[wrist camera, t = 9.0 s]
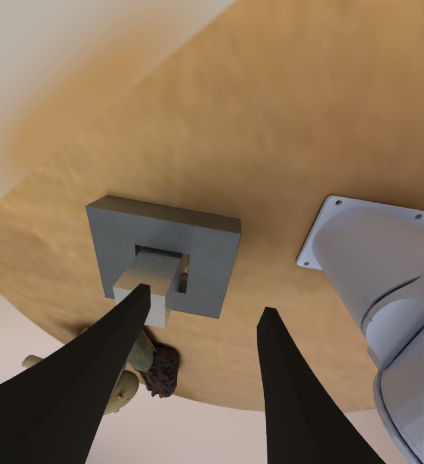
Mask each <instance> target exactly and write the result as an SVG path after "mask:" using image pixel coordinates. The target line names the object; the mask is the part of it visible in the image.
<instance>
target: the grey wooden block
mask: <svg viewBox="0 0 424 464" xmlns="http://www.w3.org/2000/svg"><path fill="white" fill-rule="evenodd" d="M186 266H187V254H183V253H178V252H172V251H167V250H161V249H156V248H151V247H145V246H144V247H143V248H142V250H141V251H140V252H139V254H138V255H137V256H136V257H135V259H134V260H133V261H132V263H131V264H130V265H129V266H128V268H127V269H126V270H125V272H124V273H123V274H122V276H121V277H120V278H119V279H118V281H117V282H116V283H115V285H114V286H113V291H114V296H115V301H116V305H117V304H119V303H120V302H121V301H122V300H123V299H124V298H125V297H126V296H127V295H128V294H129V293H130V292H132V291H133V290H134V289H135V288H136V287H137V286H138V285H139V284H140V283H142V284H148V285H150V291H151V308H150V311H149V314H148V316H147V319H146V321H145V324H144V325H149V326H154V327H159V328H165V327H166V324H167V321H168V318H169V315H170V312H171V310H172V307H173V304H174V301H175V298H176V295H177V292H178V290H179V287H180V284H181V281H182V278H183V275H184V272H185V270H186Z"/></svg>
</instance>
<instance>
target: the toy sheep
mask: <svg viewBox="0 0 424 464" xmlns="http://www.w3.org/2000/svg"><path fill="white" fill-rule="evenodd" d="M88 328H90V327H86V328H84V330H83V331H82V333H83V332H84V331H86V330H87V329H88ZM82 333H81V334H82ZM41 360H43V359H42V358H40V357H37V356H34V355H29V356H28V357H27V358H25V360H24V361H23V363H22V365H23V367H26V368H30V367H31V366H33V365H35V364H36V363H38V362H40V361H41ZM126 363H127V361H125V363H124V365H123V367H122V370H121V372H120V374H119V377H118V379H117V381H116V384H115V386H114V389H113V391H112V394H111V396H110V399H109V401H108V404H107V406H106V409H105V411H104V414H103V415H106V414H109V413H111V412H114V413H116V412H118V411H119V409H120V408H121V407H123V406H124V405H126V404H127V403H128V402H129V401H130V400H131V399H132V398H133V397H134V395H135V394H136V392H137V390H138V387H139V380H138V377H137V376H136V375H135V374H134V373H133V372H131V371H127V370H124V369H125V366H126Z"/></svg>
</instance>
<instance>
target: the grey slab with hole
mask: <svg viewBox="0 0 424 464" xmlns="http://www.w3.org/2000/svg"><path fill="white" fill-rule="evenodd" d="M86 211H87V215H88V220H89V224H90V229H91V234H92V238H93V243H94V247H95V252H96V257H97V261H98V266H99V270H100V275H101V279H102V284H103V289H104V293H105V297H106V298H111V299H115V296H114V291H113V286H114V285H115V283H116V282H117V281H118V279H119V278H120V277H121V276H122V274H123V273H124V272H125V270H126V269H127V268H128V266H129V265H130V264H131V263H132V261H133V260H134V259H135V257H136V256H137V255H138V254H139V252H140V251H141V250H142V248H143V247H144V246H145V247H151V248H156V249H161V250H167V251H172V252H178V253H183V254H189V255H190V261H189V270H188V274H184V275H183V278H182V281H181V284H180V287H179V290H178V292H177V295H176V298H175V301H174V304H173V307H172V310H174V311H180V312H185V313H190V314H195V315H201V316H206V317H211V318H216V319H219V316H220V312H221V309H222V305H223V301H224V297H225V293H226V290H227V286H228V282H229V278H230V274H231V270H232V267H233V263H234V259H235V255H236V251H237V248H238V244H239V240H240V236H241V225H240V219H236V218H230V217H224V216H219V215H213V214H208V213H202V212H196V211H191V210H185V209H179V208H174V207H168V206H163V205H157V204H151V203H146V202H140V201H135V200H129V199H123V198H118V197H112V196H107V195H106V196H104V197H102V198H100V199H98V200H96V201H94V202H92V203H90V204H88V205H86Z"/></svg>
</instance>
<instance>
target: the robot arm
mask: <svg viewBox="0 0 424 464" xmlns="http://www.w3.org/2000/svg"><path fill="white" fill-rule="evenodd" d="M338 200H340V202H339V203H338V204H335V203H336V201H338ZM416 215H418V216H417V217H415V216H416ZM305 262H307V263H305ZM296 263H297V265H298V266H301V267H307V268H312V269H318V270H323V272H324V273H325V275H326V276H327V278H328V280H329V281H330V283H331V284H332V286H333V288H334V289H335V291H336V292H337V294H338V295H339V297H340V299H341V300H342V302H343V303H344V305H345V307H346V308H347V310H348V311H349V313H350V315H351V316H352V318H353V319H354V321H355V323H356V324H357V326H358V327H359V329H360V330H361V332H362V334H363V335H364V337H365V338H366V340H367V342H368V343H369V349H368V350H367V352H368V353H369V355H370V357H371V358H372V360H373V362H374V363H375V365H376V367H377V368H378V370H379V371H378V373H377V374H376V376H375V378H374V382H373V395H374V401H375V404H376V408H377V411H378V413H379V416H380V418H381V420H382V422H383V425H384V426H385V428H386V430H387V432H388V433H389V435H390V437H391V439H392V440H393V442H394V443H395V445H396V446H397V448H398V449H399V451H400V452H401V453H402V455H403V456H404V457H405V459H406V460H407V461H408V462H409V464H424V211H422V210H416V209H411V208H405V207H399V206H393V205H387V204H382V203H376V202H370V201H364V200H359V199H353V198H347V197H341V196H336V195H331V196H329V197H327V198H326V200H325V202H324V204H323V206H322V208H321V210H320V212H319V214H318V216H317V219H316V221H315V223H314V225H313V227H312V229H311V231H310V233H309V235H308V237H307V239H306V241H305V243H304V246H303V248H302V250H301V252H300V254H299V256H298V258H297V260H296ZM150 308H151V291H150V285H148V284H142V283H140V284H139V285H138V286H137V287H136V288H135V289H134V290H133V291H132V292H130V293H129V294H128V295H127V296H126V297H125V298H124V299H123V300H122V301H121V302H120V303H119V304H117V305H116V306H115V307H114V308H113V309H112V310H111V311H109V312H108V313H107V314H106V315H105V316H103V317H102V318H101V319H100V320H98V321H97V322H96V323H95V324H94V325H92V326H91V327H90V328H88V329H87V330H86V331H84V332H83V333H82V334H80V335H79V336H77V337H76V338H75V339H73V340H72V341H70V342H69V343H67V344H66V345H64V346H63V347H62V348H60V349H59V350H57V351H56V352H54V353H53V354H51V355H49V356H48V357H46V358H45V359H43V360H41V361H40V362H38V363H36V364H35V365H33V366H31V367H30V368H28V369H26V370H25V371H23V372H21V373H20V374H18V375H16V376H15V377H13V378H11V379H9V380H7V381H5V382H4V383H2V384H0V464H85V462H86V459H87V456H88V453H89V450H90V448H91V445H92V442H93V440H94V437H95V435H96V432H97V429H98V427H99V424H100V422H101V419H102V416H103V414H104V411H105V409H106V406H107V404H108V401H109V399H110V396H111V394H112V391H113V389H114V386H115V384H116V381H117V379H118V377H119V374H120V372H121V370H122V367H123V365H124V363H125V361H126V359H127V357H128V355H129V353H130V351H131V349H132V347H133V345H134V343H135V342H136V340H137V338H138V336H139V334H140V332H141V330H142V328H143V326H144V324H145V321H146V319H147V316H148V314H149V311H150ZM257 346H258V354H259V361H260V368H261V375H262V382H263V389H264V399H265V415H266V434H267V461H268V464H386V463H385V462H384V461H383V460H382V459H381V458H380V457H379V456H378V454H377V453H376V452H375V451H374V450H373V449H372V448H371V446H370V445H369V444H368V443H367V442H366V441H365V439H364V438H363V437H362V436H361V435H360V434H359V432H358V431H357V430H356V429H355V427H354V426H353V425H352V424H351V422H350V421H349V420H348V419H347V418H346V416H345V415H344V414H343V413H342V411H341V410H340V409H339V408H338V406H337V405H336V404H335V402H334V401H333V400H332V398H331V397H330V396H329V394H328V393H327V392H326V390H325V389H324V387H323V386H322V385H321V383H320V382H319V380H318V379H317V378H316V376H315V375H314V373H313V372H312V370H311V369H310V367H309V365H308V364H307V362H306V361H305V359H304V358H303V356H302V354H301V353H300V351H299V349H298V348H297V346H296V344H295V343H294V341H293V339H292V337H291V336H290V334H289V332H288V330H287V328H286V327H285V325H284V323H283V321H282V319H281V317H280V315H279V313H278V311H277V310H276V309H275V308H270V307H265V309H264V312H263V314H262V316H261V318H260V321H259V323H258V325H257Z"/></svg>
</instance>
